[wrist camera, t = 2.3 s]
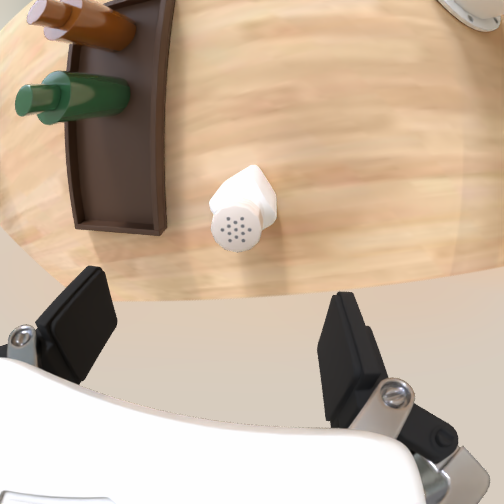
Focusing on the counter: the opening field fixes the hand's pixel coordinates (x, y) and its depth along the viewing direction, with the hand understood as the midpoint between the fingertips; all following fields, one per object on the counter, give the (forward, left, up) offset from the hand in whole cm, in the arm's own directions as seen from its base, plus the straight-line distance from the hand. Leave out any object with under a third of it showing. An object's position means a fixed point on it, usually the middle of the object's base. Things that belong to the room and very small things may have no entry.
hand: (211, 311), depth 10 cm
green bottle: (-10, -14, -16) cm, 24 cm away
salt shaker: (0, 0, -17) cm, 17 cm away
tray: (-8, -14, -17) cm, 23 cm away
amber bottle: (-17, -14, -16) cm, 27 cm away
